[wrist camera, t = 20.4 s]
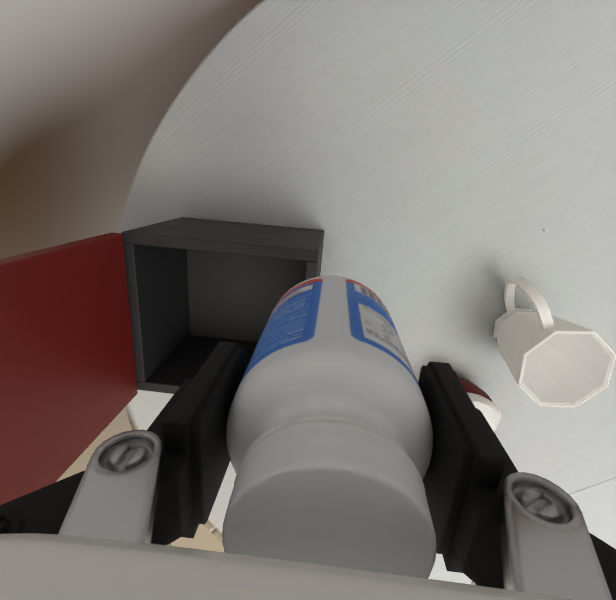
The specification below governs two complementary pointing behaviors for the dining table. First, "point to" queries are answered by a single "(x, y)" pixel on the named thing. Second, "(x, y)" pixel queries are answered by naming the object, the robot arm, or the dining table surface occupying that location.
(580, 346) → the cup
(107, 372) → the bin lid
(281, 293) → the dark open-top bin
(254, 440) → the pill bottle
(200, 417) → the robot arm
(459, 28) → the dining table surface
